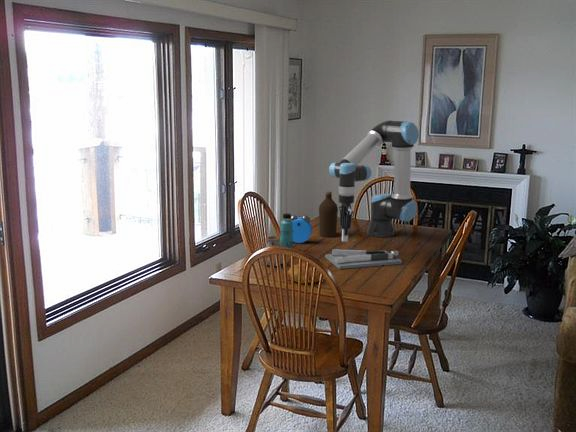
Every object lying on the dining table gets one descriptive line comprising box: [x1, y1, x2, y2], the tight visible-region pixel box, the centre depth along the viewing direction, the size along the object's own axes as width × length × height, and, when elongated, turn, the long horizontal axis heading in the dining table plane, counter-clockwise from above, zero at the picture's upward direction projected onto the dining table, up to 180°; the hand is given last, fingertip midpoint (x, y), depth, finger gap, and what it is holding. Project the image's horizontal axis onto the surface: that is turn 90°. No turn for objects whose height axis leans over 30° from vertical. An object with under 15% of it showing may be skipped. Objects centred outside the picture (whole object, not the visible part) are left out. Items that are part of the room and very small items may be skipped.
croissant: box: [287, 262, 320, 285], centre depth 269 cm, size 14×16×8 cm
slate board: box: [324, 249, 403, 270], centre depth 298 cm, size 32×20×2 cm, turn 106°
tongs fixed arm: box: [335, 249, 399, 263], centre depth 293 cm, size 33×5×3 cm, turn 106°
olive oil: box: [318, 190, 339, 238], centre depth 343 cm, size 11×11×25 cm
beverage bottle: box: [279, 212, 294, 249], centre depth 310 cm, size 6×7×20 cm
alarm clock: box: [288, 214, 313, 244], centre depth 330 cm, size 13×6×15 cm, turn 82°
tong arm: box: [331, 248, 388, 256], centre depth 300 cm, size 26×3×2 cm, turn 86°
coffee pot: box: [261, 235, 283, 267], centre depth 285 cm, size 21×12×15 cm, turn 0°
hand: (344, 241), depth 306 cm, fingers closed
